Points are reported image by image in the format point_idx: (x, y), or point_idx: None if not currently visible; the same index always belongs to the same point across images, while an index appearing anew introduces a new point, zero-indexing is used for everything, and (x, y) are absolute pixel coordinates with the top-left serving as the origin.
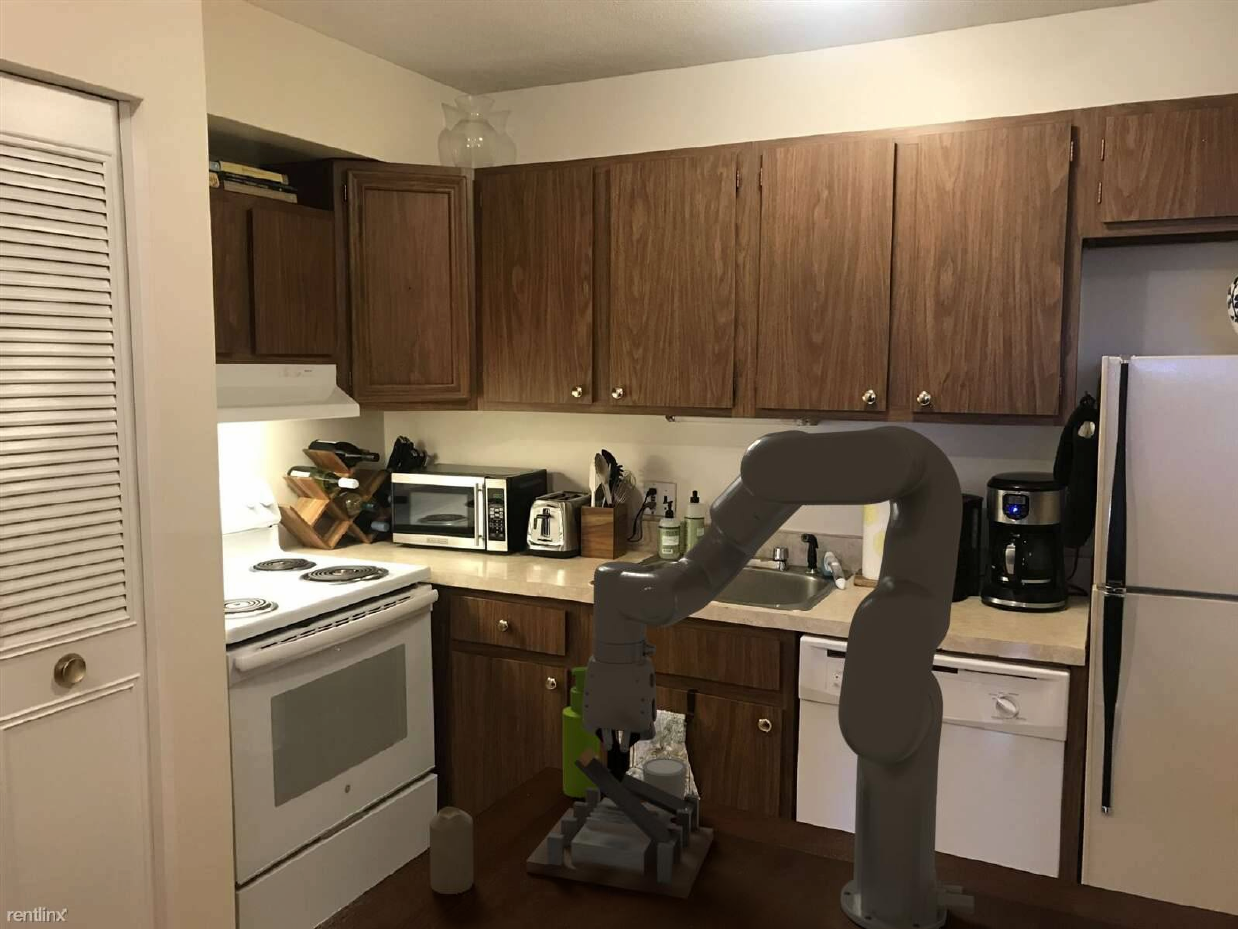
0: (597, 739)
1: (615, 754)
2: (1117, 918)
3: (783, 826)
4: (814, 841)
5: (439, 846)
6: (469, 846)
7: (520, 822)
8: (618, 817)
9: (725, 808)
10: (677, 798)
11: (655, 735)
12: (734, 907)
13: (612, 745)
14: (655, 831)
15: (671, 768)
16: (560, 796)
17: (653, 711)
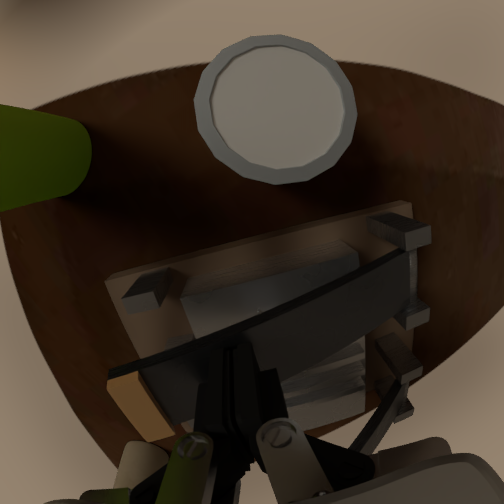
0: (6, 141)
1: (252, 456)
2: None
3: (460, 107)
4: (494, 141)
5: None
6: None
7: (71, 325)
8: (292, 395)
9: (368, 68)
10: (390, 266)
11: (442, 441)
12: (447, 343)
13: (238, 482)
14: (391, 420)
15: (308, 105)
16: (48, 206)
17: (489, 500)
